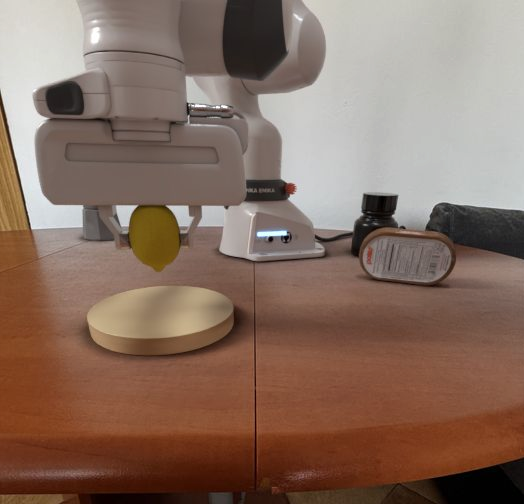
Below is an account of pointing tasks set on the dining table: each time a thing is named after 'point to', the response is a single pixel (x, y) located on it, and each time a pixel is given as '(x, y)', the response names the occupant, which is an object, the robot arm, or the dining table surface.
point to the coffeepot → (96, 224)
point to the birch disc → (160, 320)
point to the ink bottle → (374, 217)
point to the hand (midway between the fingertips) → (155, 248)
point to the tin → (407, 256)
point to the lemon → (154, 236)
